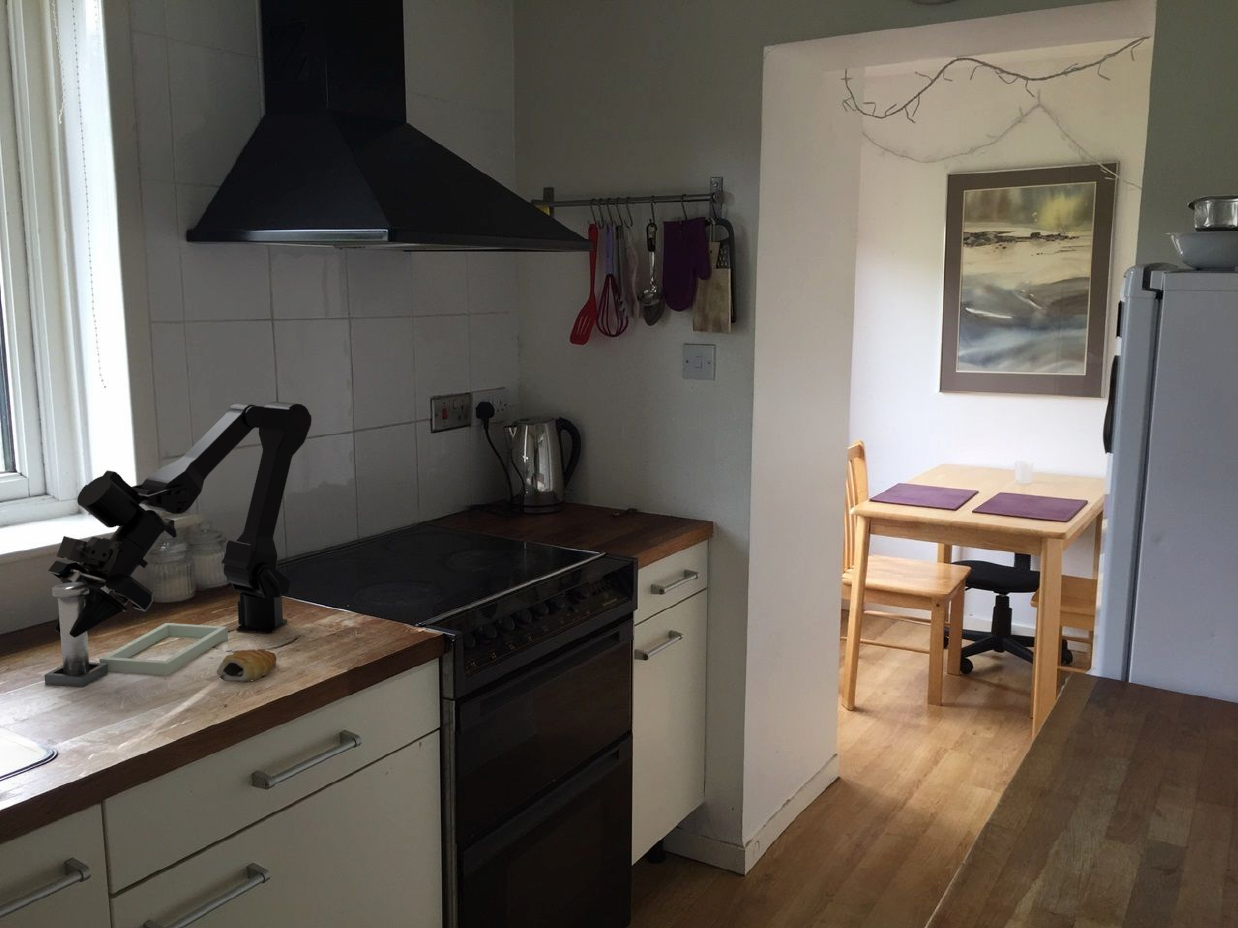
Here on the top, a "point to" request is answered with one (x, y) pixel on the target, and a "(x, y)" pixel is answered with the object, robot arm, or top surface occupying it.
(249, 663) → the pastry
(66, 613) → the pin
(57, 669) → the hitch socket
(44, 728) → the top surface
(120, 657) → the tray
